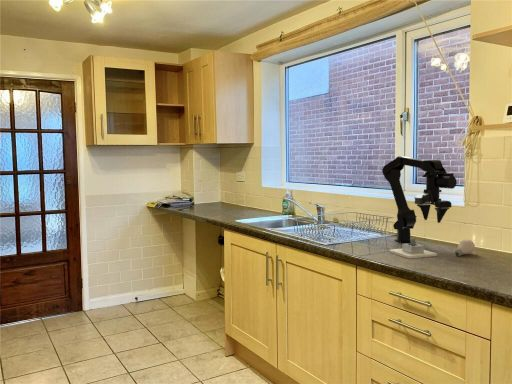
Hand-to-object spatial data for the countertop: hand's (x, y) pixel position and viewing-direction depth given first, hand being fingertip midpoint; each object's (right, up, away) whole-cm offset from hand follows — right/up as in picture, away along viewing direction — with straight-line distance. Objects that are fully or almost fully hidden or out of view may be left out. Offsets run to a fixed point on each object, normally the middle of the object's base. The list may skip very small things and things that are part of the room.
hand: (432, 221), depth 212 cm
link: (-13, -12, -12) cm, 22 cm away
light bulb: (+8, -14, -15) cm, 22 cm away
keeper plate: (-13, -13, -12) cm, 22 cm away
